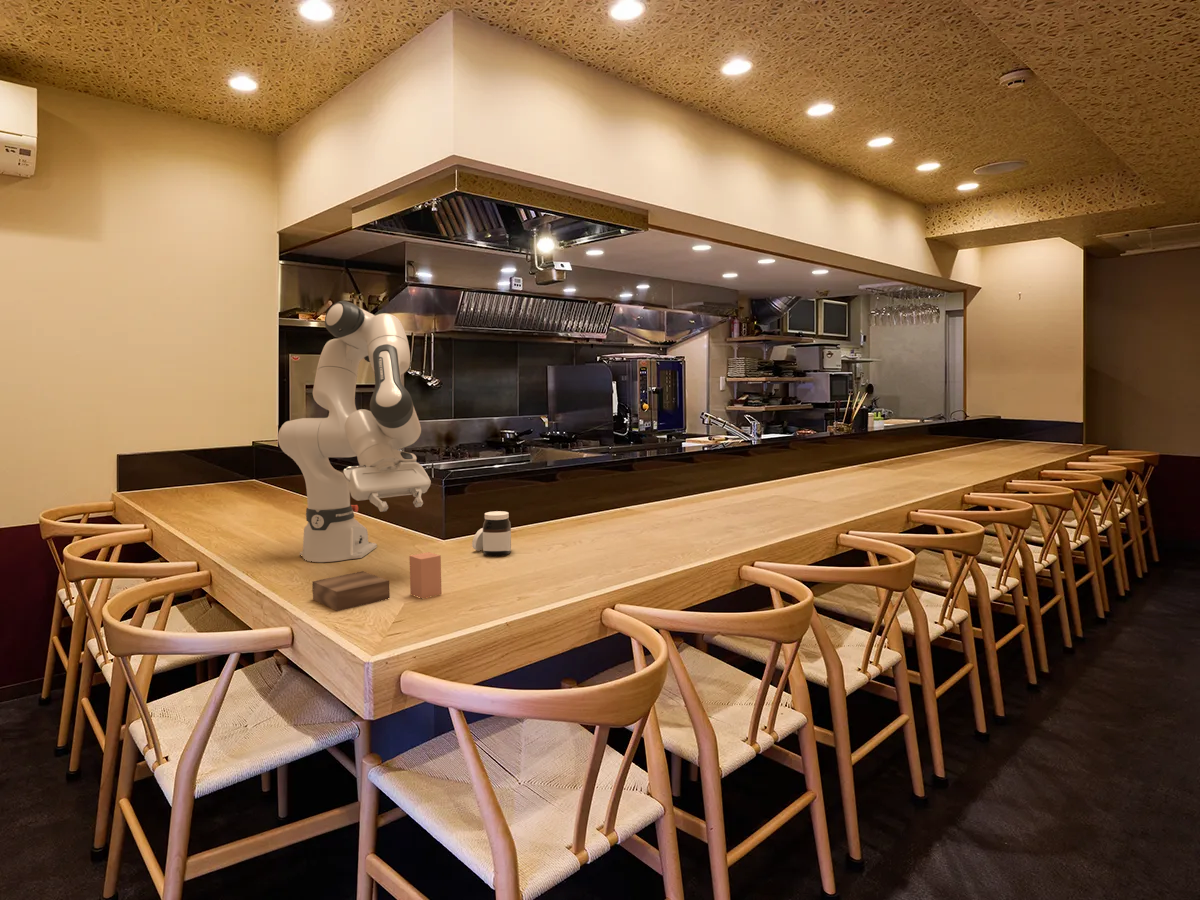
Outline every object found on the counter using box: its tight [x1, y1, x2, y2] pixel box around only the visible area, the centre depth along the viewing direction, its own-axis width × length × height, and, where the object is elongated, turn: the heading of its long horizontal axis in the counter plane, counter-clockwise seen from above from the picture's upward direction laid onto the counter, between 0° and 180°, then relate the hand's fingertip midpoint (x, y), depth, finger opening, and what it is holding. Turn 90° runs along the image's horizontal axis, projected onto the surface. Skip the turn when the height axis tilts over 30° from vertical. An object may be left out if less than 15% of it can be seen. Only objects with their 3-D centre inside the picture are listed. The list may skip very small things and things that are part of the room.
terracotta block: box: [409, 551, 443, 599], centre depth 157 cm, size 5×5×9 cm
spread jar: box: [471, 510, 512, 557], centre depth 198 cm, size 12×11×12 cm
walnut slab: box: [311, 570, 391, 612], centre depth 154 cm, size 12×12×4 cm
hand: (402, 507), depth 165 cm, fingers open, 8 cm apart
